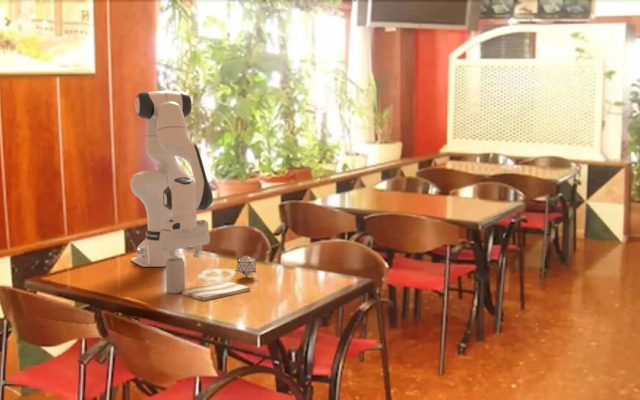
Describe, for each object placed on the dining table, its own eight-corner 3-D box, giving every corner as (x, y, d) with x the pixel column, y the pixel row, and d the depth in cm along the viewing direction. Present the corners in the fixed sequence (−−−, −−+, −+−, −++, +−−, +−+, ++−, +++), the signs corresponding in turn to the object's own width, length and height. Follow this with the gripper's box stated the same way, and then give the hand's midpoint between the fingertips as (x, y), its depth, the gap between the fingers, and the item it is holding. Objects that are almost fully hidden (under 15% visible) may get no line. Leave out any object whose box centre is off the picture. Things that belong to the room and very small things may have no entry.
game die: (254, 281, 286) (253, 255, 285) (232, 280, 288) (231, 254, 286) (260, 276, 295) (260, 250, 293) (239, 275, 296) (239, 249, 295)
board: (182, 293, 268) (182, 290, 268) (227, 284, 282) (227, 281, 282) (204, 301, 259) (204, 297, 258) (250, 290, 273) (250, 287, 272)
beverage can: (162, 292, 270) (161, 259, 269) (177, 288, 275) (176, 256, 273) (173, 295, 266) (172, 261, 264) (188, 292, 271) (187, 258, 269)
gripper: (203, 218, 290) (203, 254, 291) (156, 224, 275) (157, 262, 277) (213, 220, 285) (213, 256, 287) (166, 226, 271) (167, 264, 273)
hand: (185, 259), depth 282 cm, fingers open, 8 cm apart
